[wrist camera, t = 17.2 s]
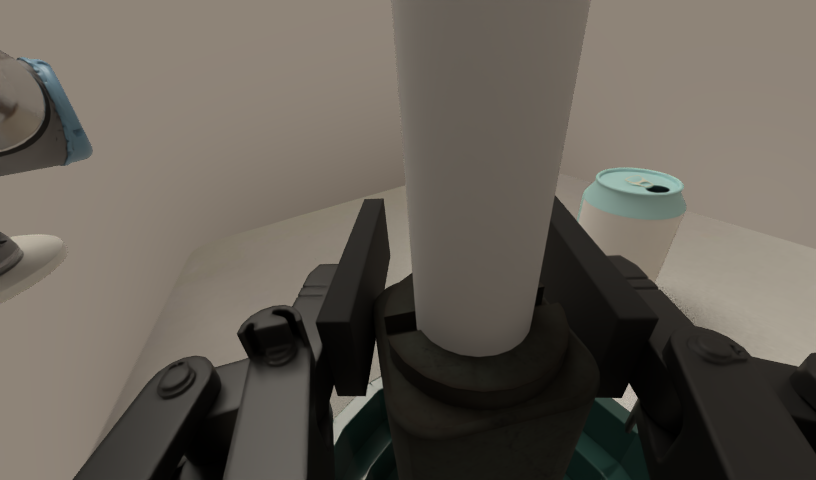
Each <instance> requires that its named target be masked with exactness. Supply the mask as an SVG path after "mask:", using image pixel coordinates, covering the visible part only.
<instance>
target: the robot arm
mask: <svg viewBox="0 0 816 480" xmlns="http://www.w3.org/2000/svg"><path fill="white" fill-rule="evenodd" d="M92 151H93V150H92V146H91V144H90V142H89V140H88V138H87V136H86V134H85V132H84V130H83V128H82V126H81V124H80V122H79V120H78V118H77V116H76V114H75V112H74V110H73V108H72V106H71V104H70V102H69V100H68V98H67V96H66V94H65V92H64V90H63V88H62V86H61V84H60V82H59V80H58V78H57V77H56V75H55V73H54V71H53V70H52V68H51V66H50V65H49V64H48V63H46V62H44V61H42V60H39V59H28V58H24V57H22V58H17V60H15V59H14V58H12V57H10V56H9V55H7V54H6V53H4V52H2V51H0V176H4V175H9V174H14V173H20V172H25V171H31V170H36V169H42V168H47V167H53V166H58V165H60V166H65V165H69V164H70V163H72V162H76V161H80V160H84V159H87V158H89V157H90V156H91V154H92ZM23 256H24V252H23V251H22V250H21V248H20V247H19V246H18V245H17V244H16V243H15V242H14V241H13V240H12V239H11V238H9V237H8V236H6V235H4V234H3V233H1V232H0V276H2V275H3V274H5V273H6V272H8V271H9V270H11V269H12V268H13V267H15V266H16V265H17V264H18V263H19V262H20V261H21V260H22V258H23ZM389 260H390V249H389V241H388V232H387V224H386V216H385V207H384V199H365V200H364V202H363V204H362V207H361V209H360V212H359V214H358V217H357V219H356V222H355V224H354V227H353V229H352V232H351V234H350V237H349V239H348V242H347V244H346V247H345V249H344V252H343V254H342V257H341V259H340V262H339V264H320V265H319V266H318V267H316V268H315V269H314V270H313V271H312V272H311V273H310V274H309V275H308V277H307V279H306V281H305V283H304V285H303V288H301V290H300V292H299V294H298V298H296V300H295V302H294V304H293V306H292V307H291V306H287V305H279V306H272V307H269V308H266V309H263V310H261V311H259V312H257V313H255V314H254V315H252V316H250V317H249V318H248V319H247V320H246V321H245V322H244V323H243V324H242V325H241V327H240V329H239V331H238V333H237V335H238V337H239V339H240V341H241V343H242V345H243V347H244V349H245V351H246V353H247V355H248V357H249V358H246V359H243V360H240V361H236V362H233V363H229V364H225V365H222V366H218V367H214V366H213V365H212V363H211V362H210V361H209V360H208V359H207V358H206V357H201V356H191V357H186V358H182V359H180V360H178V361H175V362H173V363H171V364H169V365H168V366H166V367H165V368H163V369H162V370H161V371H159V372H158V373H157V374H156V375H155V376H154V377H153V378H152V379H151V380H150V381H149V382H148V383H147V384H146V385H145V387H144V388H143V389H142V391H141V392H140V393H139V394H138V396H137V397H136V398H135V400H134V401H133V402H132V403H131V405H130V406H129V407H128V409H127V410H126V411H125V413H124V414H123V415H122V416H121V418H120V419H119V420H118V422H117V423H116V424H115V425H114V427H113V428H112V429H111V431H110V432H109V433H108V434H107V436H106V437H105V438H104V440H103V441H102V442H101V443H100V445H99V446H98V447H97V449H96V450H95V451H94V453H93V454H92V455H91V456H90V458H89V459H88V460H87V462H86V463H85V464H84V465H83V467H82V468H81V469H80V471H79V472H78V473H77V475H76V476H75V477H74V479H73V480H335V460H334V434H333V411H332V408H331V404H330V397H331V394H332V390H333V386H334V385H335V389H336V392H337V395H338V396H366V393H367V387H368V382H369V376H370V370H371V364H372V358H373V353H374V347H375V341H376V335H375V327H374V320H373V305H374V303H375V300H376V298H377V297H378V296H379V294H380V293H381V292H382V291H384V289H385V283H386V277H387V272H388V266H389ZM539 282H540V283H542V284H543V285H544V286H545V288H544V293H543V297H544V298H545V299H546V300H547V301H548V303H549V304H553V303H558V302H559V303H560V305H561V306H562V307H563V309H564V312H565V315H566V318H567V322H568V325H569V327H570V329H571V330H572V331H573V332H574V333H575V334H576V336H577V337H578V338H579V339H580V340H581V342H582V343H583V344H584V345H585V346H586V347H587V349H588V350H589V351H590V353H591V354H592V356H593V357H594V359H595V361H596V363H597V365H598V368H599V371H600V387H599V390H598V392H597V395H596V397H595V398H622V396H623V394H624V392H625V390H626V388H627V386H628V384H630V385H631V387H632V389H633V390H634V392H635V394H636V395H637V397H638V399H637V401H636V403H635V405H634V407H633V409H632V411H631V413H630V415H629V417H628V419H627V421H626V422H625V432H626V433H629V434H630V433H631V431H632V429H633V427H634V425H635V424H636V425H637V429H638V436H639V437H640V441H641V445H642V449H643V453H644V458H645V462H646V466H647V470H648V474H649V478H650V480H816V353H811V354H810V355H809V356H808V357H807V358H806V359H805V360H804V362H803V363H802V364H801V365H800V366H799V367H797V366H792V365H788V364H783V363H778V362H774V361H769V360H765V359H760V358H755V357H752V356H751V355H750V354H749V353H748V352H747V351H746V350H745V349H744V348H743V347H742V346H740V345H739V344H737V343H736V342H735V341H733V340H732V339H730V338H728V337H726V336H724V335H722V334H720V333H717V332H715V331H713V330H709V329H705V328H701V327H695V325H694V324H693V323H692V322H691V321H690V320H689V319H688V318H687V317H686V316H685V315H684V314H683V313H682V312H681V311H680V310H679V309H678V308H677V307H676V305H675V304H674V303H673V302H672V301H671V300H670V299H669V298H668V297H667V296H666V295H665V294H664V293H663V292H662V291H661V290H658V287H657V286H656V284H655V283H654V282H653V281H652V280H651V279H648V276H647V275H646V274H645V273H644V272H643V271H642V270H641V269H640V268H639V267H638V266H637V265H636V264H634V263H633V262H631V261H629V260H628V259H626V258H624V257H623V256H621V255H609V256H606V255H605V254H604V252H603V251H602V250H601V249H600V248H599V246H598V245H597V244H596V243H595V242H594V241H593V239H592V238H591V237H590V236H589V235H588V234H587V232H586V231H585V230H584V229H583V228H582V226H581V225H580V224H579V223H578V222H577V221H576V219H575V218H574V217H573V216H572V215H571V213H570V212H569V211H568V210H567V209H566V208H565V206H564V205H563V204H562V203H561V202H560V200H559V199H558V198H557V197H556V196H555V197H554V202H553V208H552V213H551V218H550V224H549V229H548V235H547V240H546V246H545V251H544V256H543V262H542V267H541V273H540V278H539Z"/></svg>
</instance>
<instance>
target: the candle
mask: <svg viewBox="0 0 816 480" xmlns="http://www.w3.org/2000/svg"><path fill="white" fill-rule="evenodd" d="M590 1H591V0H391V2H392V14H393V28H394V41H395V54H396V65H397V80H398V92H399V105H400V117H401V131H402V144H403V156H404V170H405V182H406V196H407V209H408V222H409V234H410V247H411V260H412V273H411V274H410V275H409V276H407V277H406V278H405V279H403V280H402V281H401V282H399V283H396V284H394V285H392V286H390V287H388V288H386V289H385V290H384V291H382V292H381V293H380V294H379V296H378V297H377V298H376V300H375V303H374V305H373V320H374V327H375V335H376V342H377V349H378V356H379V363H380V370H381V377H382V385H383V392H384V399H385V404H386V410H387V415H388V421H389V426H390V432H391V437H392V443H393V448H394V454H395V459H396V465H397V471H398V476H399V480H563V478H564V475H565V473H566V470H567V468H568V465H569V463H570V460H571V458H572V455H573V453H574V450H575V448H576V445H577V443H578V440H579V438H580V435H581V433H582V430H583V427H584V425H585V422H586V420H587V417H588V415H589V412H590V410H591V407H592V405H593V402H594V400H595V397H596V395H597V392H598V390H599V387H600V371H599V368H598V365H597V363H596V361H595V359H594V357H593V356H592V354H591V353H590V351H589V350H588V349H587V347H586V346H585V345H584V344H583V343H582V342H581V340H580V339H579V338H578V337H577V336H576V334H575V333H574V332H573V331H572V330H571V329H570V327H569V325H568V322H567V318H566V315H565V312H564V309H563V307H562V306H561V305H560V303H559V302H558V303H553V304H549V303H548V301H547V300H546V299H545V298H544V297H543V293H544V288H545V286H544V285H543V284H542V283H540V282H539V278H540V273H541V267H542V262H543V256H544V251H545V246H546V240H547V235H548V229H549V224H550V218H551V213H552V208H553V202H554V197H555V191H556V186H557V180H558V175H559V169H560V164H561V158H562V153H563V148H564V142H565V137H566V131H567V126H568V120H569V115H570V110H571V104H572V99H573V94H574V88H575V83H576V77H577V72H578V66H579V60H580V55H581V50H582V45H583V39H584V34H585V28H586V23H587V17H588V12H589V7H590Z"/></svg>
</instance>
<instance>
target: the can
mask: <svg viewBox="0 0 816 480" xmlns="http://www.w3.org/2000/svg"><path fill="white" fill-rule="evenodd" d="M683 188H684V185H683V184H682V182H681V181H680V180H678V179H677V178H675V177H673V176H671V175H668V174H664V173H661V172H657V171H653V170H647V169H639V168H612V169H606V170H603V171H601V172H599V173H598V174H597V175H596V180H595V181H594V182H593V183H592V184H591V185H590V186H589V187H587V188H586V189H585V191H584V193H583V196H582V201H581V205H580V209H579V213H578V218H577V222H578V223H579V224H580V225H581V226H582V228H583V229H584V230H585V231H586V232H587V234H588V235H589V236H590V237H591V238H592V239H593V241H594V242H595V243H596V244H597V245H598V246H599V248H600V249H601V250H602V251H603V252H604V254H605V255H606V256H609V255H621V256H623V257H624V258H626V259H628V260H629V261H631V262H633V263H634V264H636V265H637V266H638V267H639V268H640V269H641V270H642V271H643V272H644V273H645V274H646V275H647V276H648V279H651V280H652V281H653V282H654V283H655V281H656V279H657V277H658V274H659V272H660V270H661V267H662V265H663V263H664V260H665V258H666V256H667V253H668V251H669V249H670V246H671V244H672V242H673V239H674V237H675V235H676V232H677V230H678V228H679V225H680V223H681V221H682V218H683V216H684V214H685V211H686V203H685V201H684V199H683V196H682V194H681V191H682V190H683Z"/></svg>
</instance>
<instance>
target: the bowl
mask: <svg viewBox="0 0 816 480" xmlns="http://www.w3.org/2000/svg"><path fill="white" fill-rule="evenodd" d="M630 413H631V412H629V411H628V410H627V409H625V408H624V407H623V406H621V405H620V404H619V403H618V402H616V401H615V400H614V399H612V398H595V400H594V402H593V405H592V407H591V410H590V412H589V415H588V417H587V420H586V422H585V425H584V427H583V430H582V433H581V435H580V438H579V440H578V443H577V445H576V448H575V450H574V453H573V455H572V458H571V460H570V463H569V465H568V468H567V470H566V473H565V475H564V478H563V480H650V478H649V474H648V470H647V466H646V462H645V458H644V453H643V449H642V445H641V441H640V437H639V436H638V429H637V425H636V424H635V425H634V427H633V429H632V431H631V433H630V434H629V433H626V432H625V422H626V421H627V419H628V417H629V415H630ZM333 434H334V460H335V480H399V476H398V471H397V465H396V459H395V454H394V448H393V443H392V437H391V432H390V426H389V421H388V415H387V410H386V404H385V399H384V392H383V385H382V377H381V376H380V377H378V378H377V379H375V380H373V381H372V382H370V383H368V387H367V393H366V396H356V397H355V398H354V399H353V400H352V401H351V402H350V403H349V404H348V405H347V406H346V407H345V408H344V409H343V410H342V411H341V412H340V413H339V414H338V415H337V416H336V417H335V418H334V419H333Z"/></svg>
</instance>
